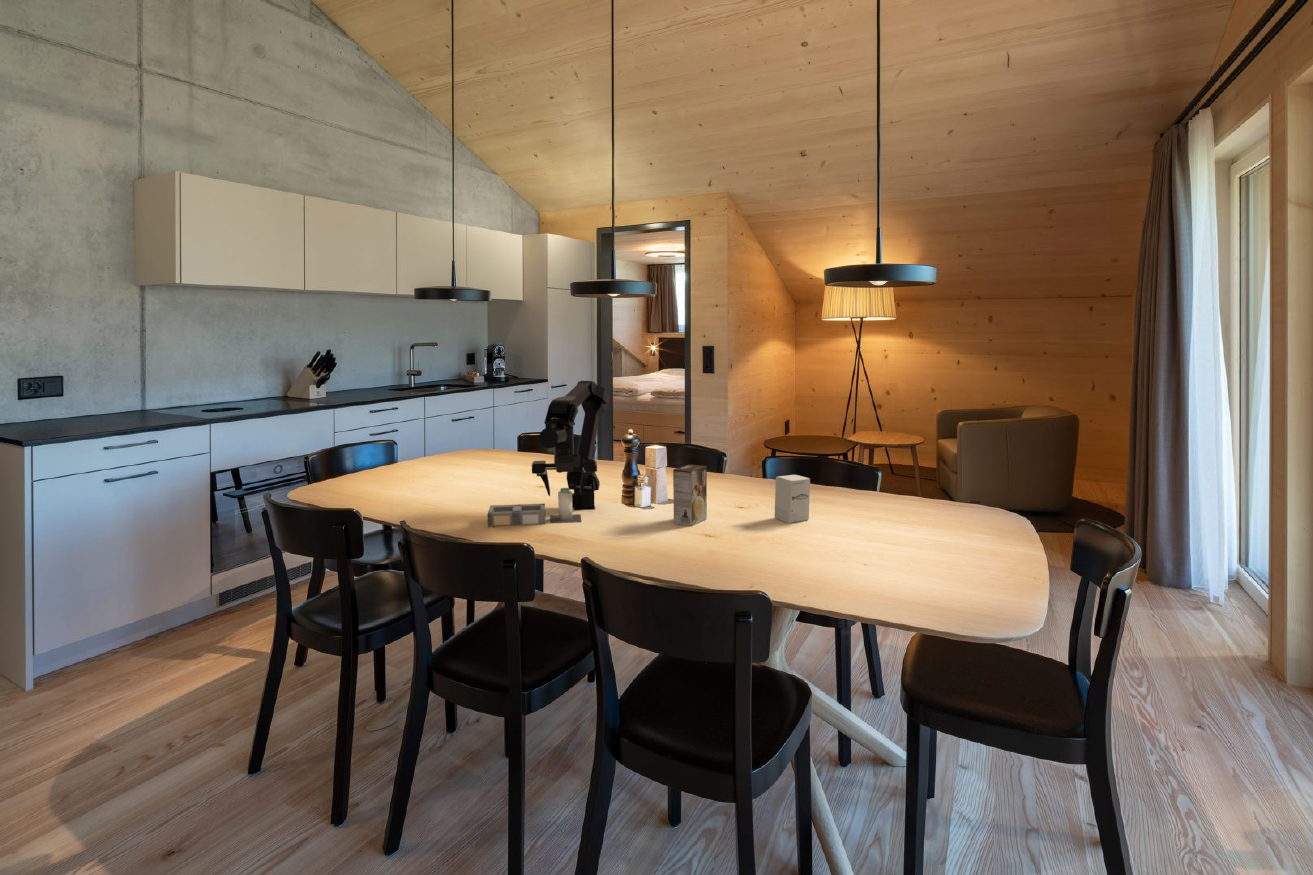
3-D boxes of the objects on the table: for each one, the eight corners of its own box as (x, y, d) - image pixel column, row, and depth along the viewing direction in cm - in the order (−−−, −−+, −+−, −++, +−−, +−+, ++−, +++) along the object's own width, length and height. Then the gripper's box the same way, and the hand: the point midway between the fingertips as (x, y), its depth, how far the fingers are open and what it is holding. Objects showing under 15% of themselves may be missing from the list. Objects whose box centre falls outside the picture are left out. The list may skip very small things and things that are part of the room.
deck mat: (580, 515, 222) (580, 514, 222) (581, 523, 213) (581, 522, 213) (550, 516, 221) (550, 515, 221) (550, 524, 212) (550, 523, 212)
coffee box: (688, 516, 221) (688, 463, 218) (707, 519, 217) (707, 465, 215) (672, 523, 213) (672, 469, 210) (692, 526, 209) (692, 471, 207)
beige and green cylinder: (572, 516, 219) (571, 487, 218) (572, 520, 215) (571, 490, 214) (558, 517, 219) (558, 487, 217) (558, 520, 215) (558, 490, 213)
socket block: (545, 516, 221) (544, 503, 221) (544, 525, 211) (544, 512, 210) (490, 518, 219) (490, 505, 218) (487, 527, 209) (487, 514, 208)
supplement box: (789, 523, 212) (790, 480, 210) (773, 517, 219) (774, 476, 217) (809, 520, 215) (810, 478, 214) (793, 514, 222) (794, 473, 220)
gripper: (530, 448, 204) (532, 503, 207) (597, 446, 207) (598, 500, 209) (531, 441, 215) (533, 493, 218) (595, 440, 218) (596, 491, 220)
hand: (565, 495), depth 216 cm, fingers open, 9 cm apart
